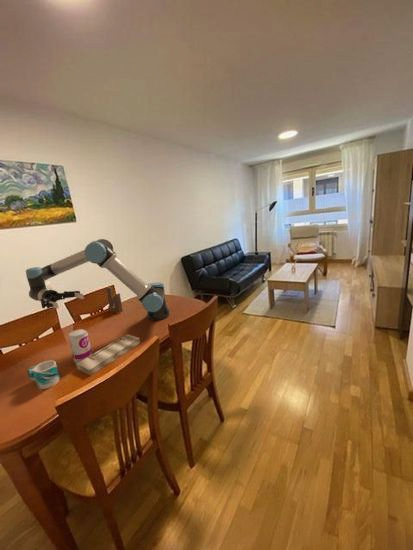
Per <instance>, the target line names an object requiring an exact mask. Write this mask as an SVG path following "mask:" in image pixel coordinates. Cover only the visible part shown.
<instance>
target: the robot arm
mask: <svg viewBox="0 0 413 550" xmlns="http://www.w3.org/2000/svg"><path fill="white" fill-rule="evenodd" d="M89 262H90V263H92V264H96V265H98V267H99V268H100V269H101V268H102V269H106V270H107V271H108V272H109V273H111V274H112V275H113V276H114V277H115V278H117V279H118V280H119V281H120V283H122V284H123V285H125V286H126V288H128V289H129V290H130V291H131V292H133V293H134V294H135V295H136V296H137V297H136V298H137V300H138V301H139V302H140V303H141V304H142V307H143V309H144V310H145V311H147V313H146V317H147V319H148V320H150V321H160V320H159V319H161V320H164V319H166V318H168V317H169V316H170V315H169V314H171V313H170V309H169V307H168V305H167V300H166V292H165V285H164V283H163V282H158V281H157V282H150V283H148V284H147V283H146V282H145V281H144V280H142V278H140V277H139V276H138V275H137V274H136V273H135V272H133V270H132V269H130V268H129V267H128V266H127V265H125V264H124V262H122V261H121V260H120V259H119V258H118V257H117V253H116V252H115V251H114V246H113V244H112V243H111V241H109V240H107V239H106V238H105V239H104V238H99V239H97V240H92V241H90V243H88V244H87V245H86V246H85V248H84V249H83V250H80V251H79V252H78V251H77V252H76V253H74V254H71V255H69V256H66V257H65V258H62V259H59V260H57V261H55V262H53V263H50V264H48V265H46V266H43V267H40V266H37V267H36V266H33V267H30V268H26V270H25V274H26V276H25V277H26V279H27V282H28V286H29V291H28V296H29V298H30V299H32V300H33V301H38V302H40V304H41V309H51V308H53V309H59V303H58V301H60V300H65V299H70V298H71V299H72V298H76V299H81V300H84V299H85V297H84V294H83V293H81V291H80V290H73V291H71V290H70V291H65V290H64V291H63V292H58V291H57V290H54V289H50V288H48V289H47V285H46V281H47V280H49V279H51V278H54V277H56V276H58V275H60V274H63V273H66V272H67V271H70V270H72V269H75V268H77V267H79V266H81V265H82V266H83V265H84V264H86V263H89ZM168 315H169V316H168ZM167 316H168V317H167ZM165 317H166V318H165ZM163 318H164V319H163Z"/></svg>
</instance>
